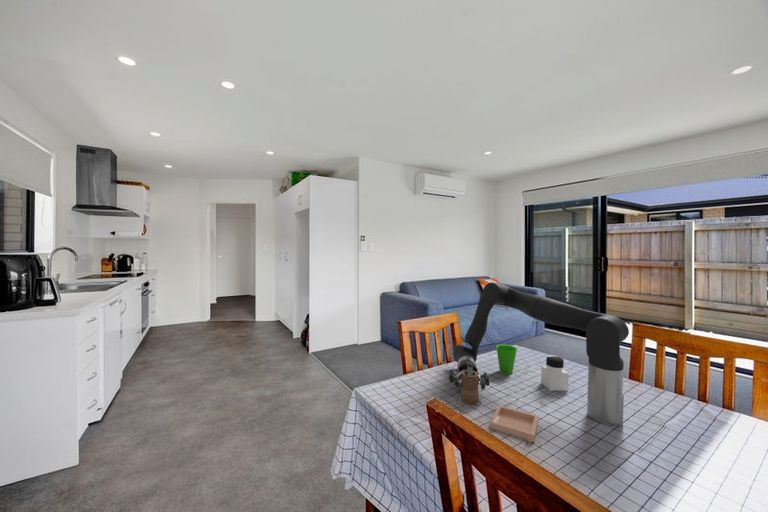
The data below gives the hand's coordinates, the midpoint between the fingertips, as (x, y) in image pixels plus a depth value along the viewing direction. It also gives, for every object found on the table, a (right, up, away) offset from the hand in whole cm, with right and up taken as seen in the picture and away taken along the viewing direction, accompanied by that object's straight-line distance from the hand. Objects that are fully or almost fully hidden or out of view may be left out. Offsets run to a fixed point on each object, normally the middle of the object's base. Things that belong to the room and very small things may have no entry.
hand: (470, 385), depth 108 cm
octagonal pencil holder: (0, -6, +1) cm, 6 cm away
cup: (+24, -6, +29) cm, 38 cm away
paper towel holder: (0, -7, +1) cm, 7 cm away
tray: (+10, -7, -13) cm, 18 cm away
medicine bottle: (+38, -7, +15) cm, 41 cm away
